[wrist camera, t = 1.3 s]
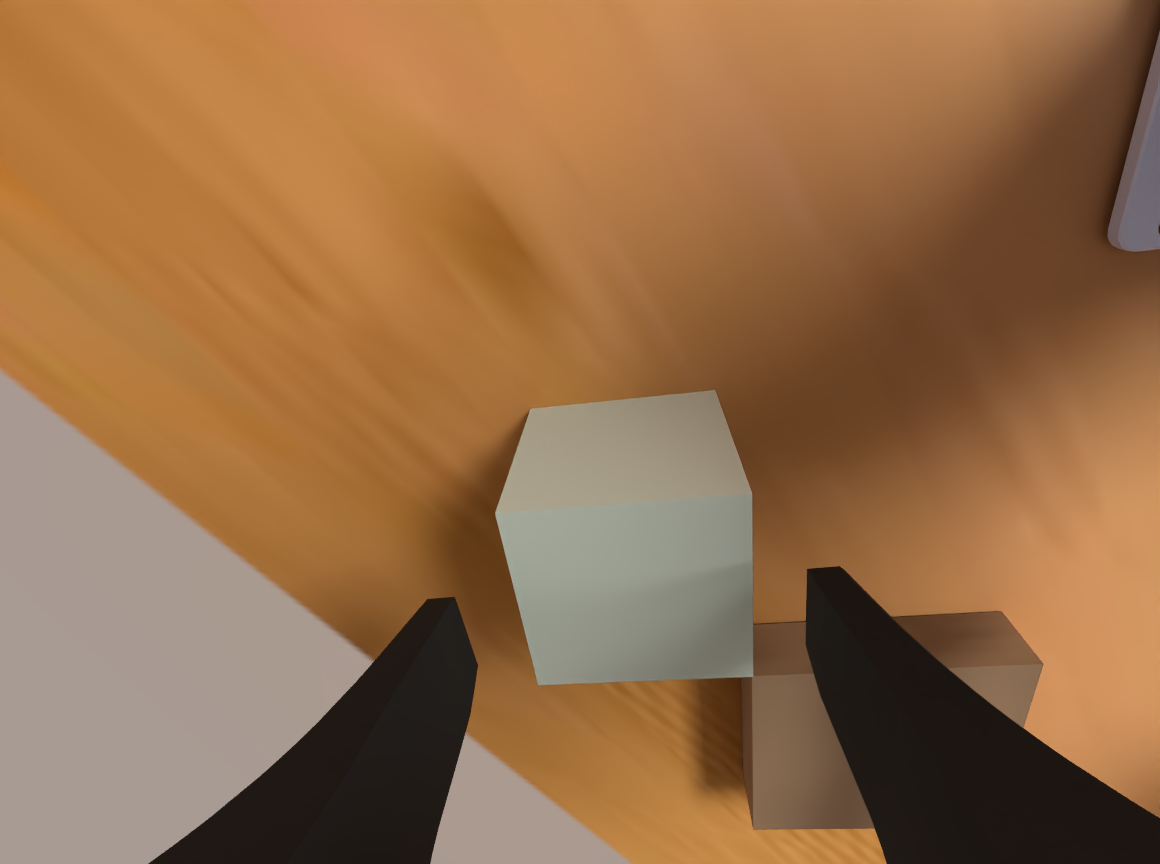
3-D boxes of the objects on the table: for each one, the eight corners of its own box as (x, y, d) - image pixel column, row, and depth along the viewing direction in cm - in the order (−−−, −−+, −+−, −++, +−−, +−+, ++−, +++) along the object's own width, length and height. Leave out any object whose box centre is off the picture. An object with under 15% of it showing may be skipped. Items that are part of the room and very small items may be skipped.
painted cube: (714, 388, 15) (752, 493, 11) (720, 539, 17) (753, 677, 13) (530, 407, 16) (494, 513, 11) (559, 550, 18) (538, 685, 14)
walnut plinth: (1001, 611, 18) (1043, 663, 16) (961, 770, 21) (991, 826, 20) (739, 625, 19) (751, 676, 17) (743, 774, 22) (753, 829, 21)
